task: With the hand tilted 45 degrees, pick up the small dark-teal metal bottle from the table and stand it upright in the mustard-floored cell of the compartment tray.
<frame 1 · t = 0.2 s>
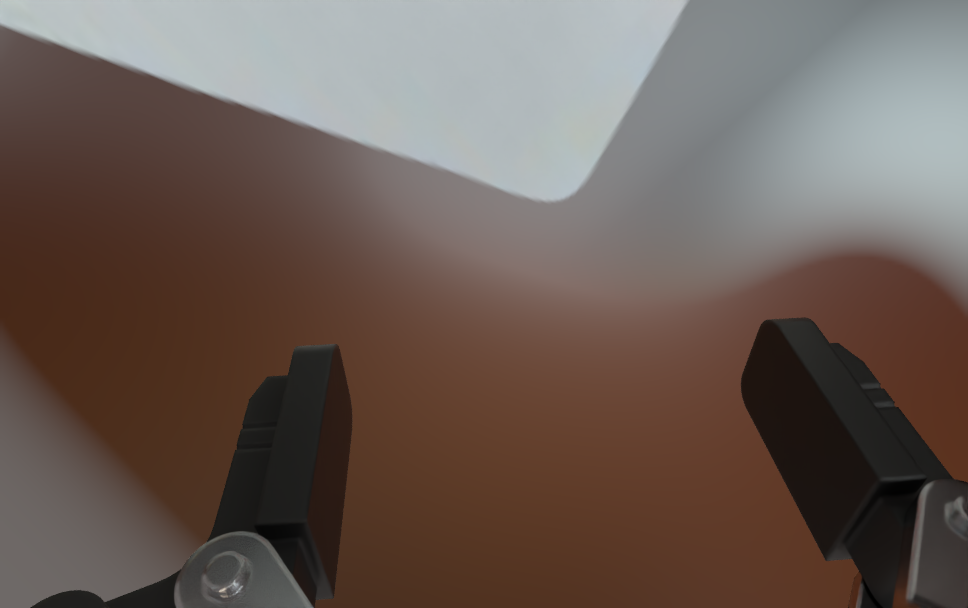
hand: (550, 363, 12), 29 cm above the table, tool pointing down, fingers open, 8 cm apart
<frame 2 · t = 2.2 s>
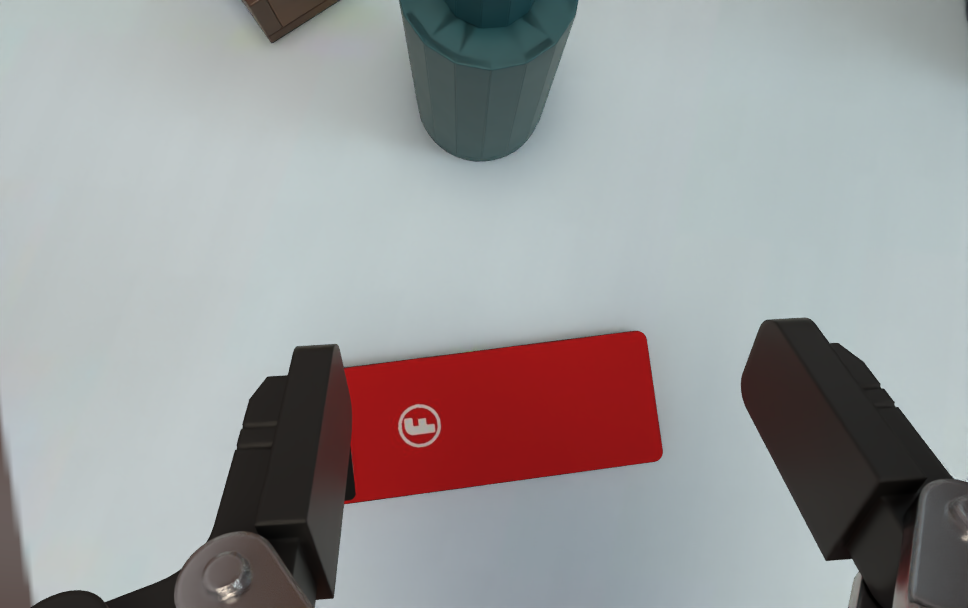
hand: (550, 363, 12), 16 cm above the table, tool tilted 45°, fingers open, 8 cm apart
electronic device: (486, 415, 28), on the table
bottle: (479, 101, 29), on the table
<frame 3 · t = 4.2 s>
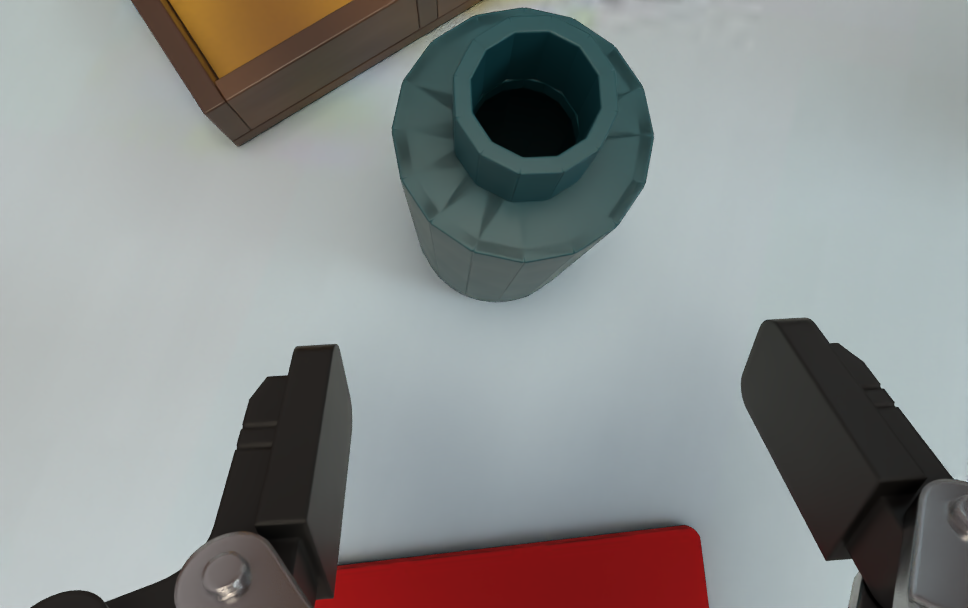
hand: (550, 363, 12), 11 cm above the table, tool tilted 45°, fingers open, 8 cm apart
bottle: (495, 225, 23), on the table
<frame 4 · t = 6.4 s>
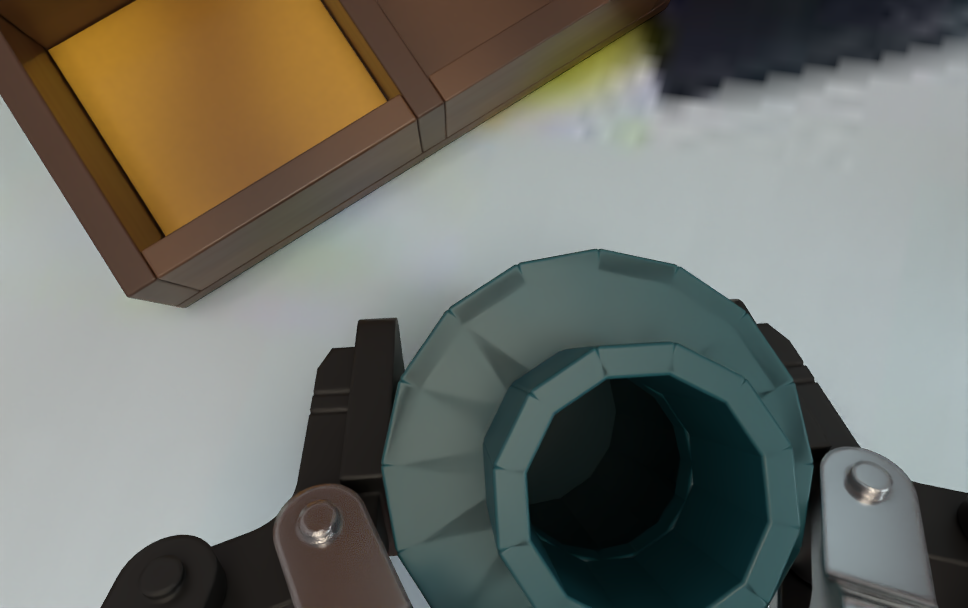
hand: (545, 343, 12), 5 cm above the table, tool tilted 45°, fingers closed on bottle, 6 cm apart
bottle: (522, 409, 18), on the table, touching gripper
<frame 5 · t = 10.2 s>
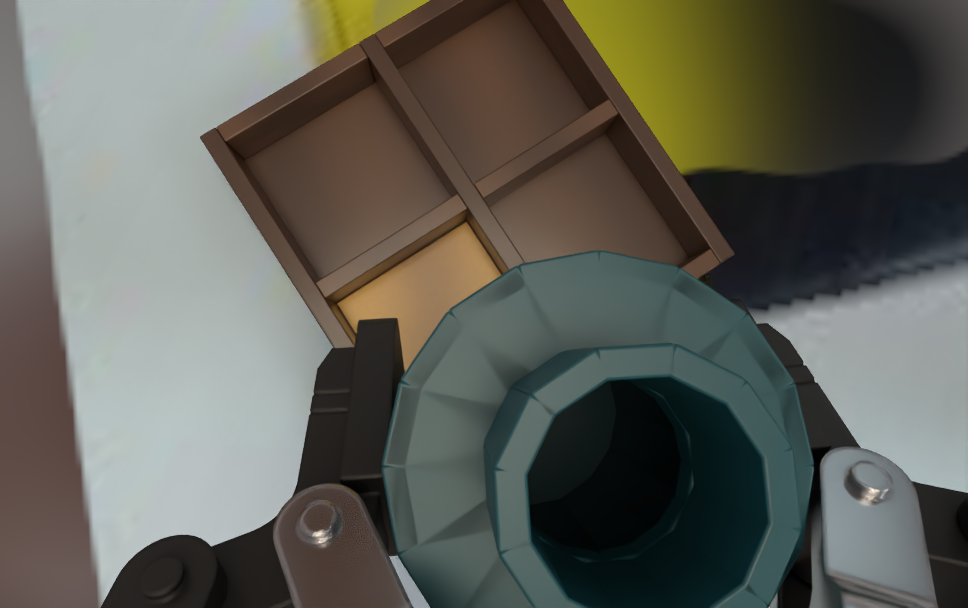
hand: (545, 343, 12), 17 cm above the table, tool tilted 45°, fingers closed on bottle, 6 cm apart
bottle: (522, 409, 18), point 12 cm above the table, touching gripper
compartment tray: (468, 212, 30), on the table
when the fingers open (6 cm above the table, at t = 14.2 s): bottle stays where it is, resting on compartment tray.
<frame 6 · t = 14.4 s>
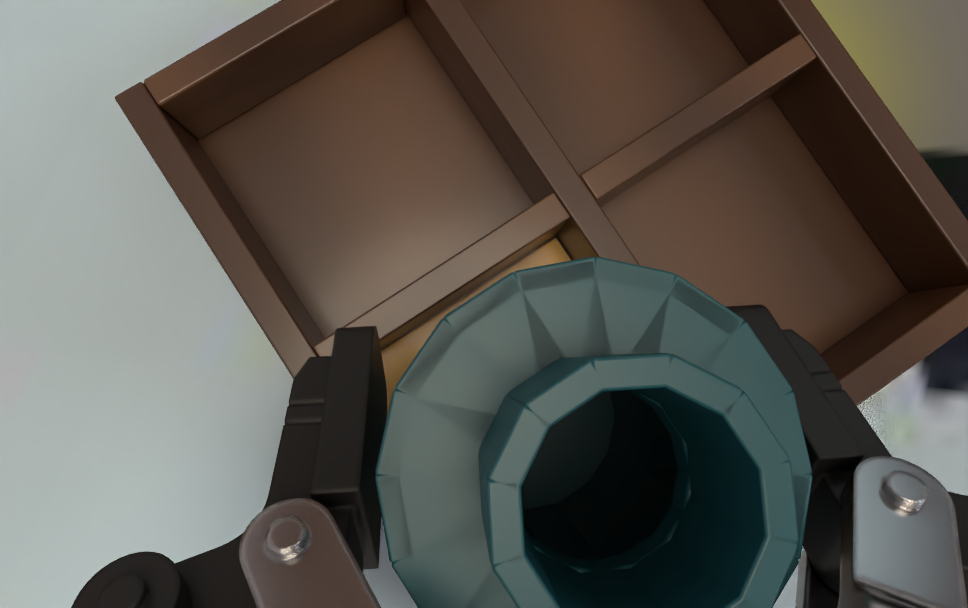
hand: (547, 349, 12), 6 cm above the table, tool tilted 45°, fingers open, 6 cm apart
bottle: (520, 413, 18), point 1 cm above the table, touching compartment tray
compartment tray: (555, 222, 19), on the table
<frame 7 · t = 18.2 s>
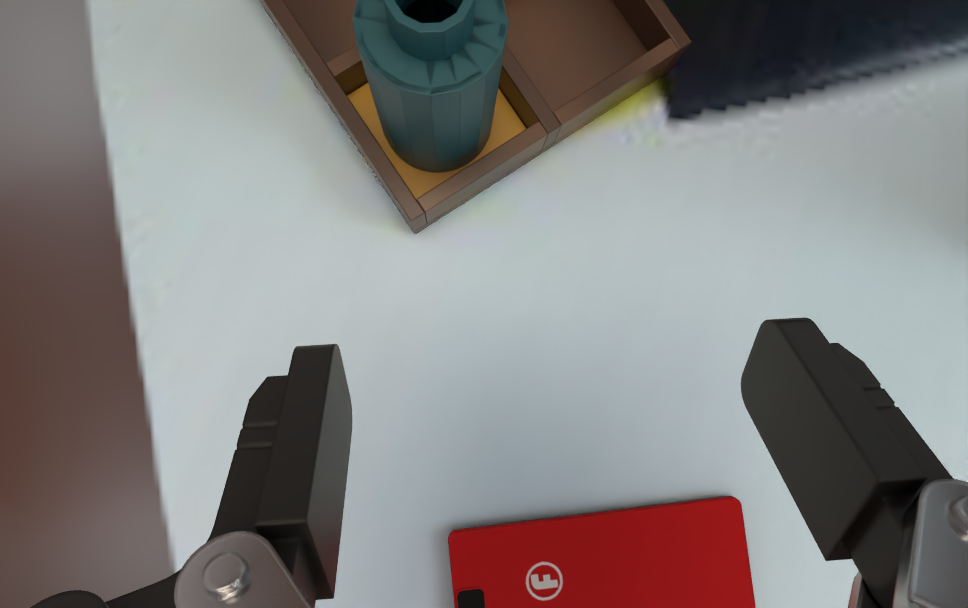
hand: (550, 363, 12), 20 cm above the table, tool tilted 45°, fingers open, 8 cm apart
electronic device: (599, 569, 32), on the table
bottle: (437, 119, 32), point 1 cm above the table, touching compartment tray
compartment tray: (459, 24, 34), on the table
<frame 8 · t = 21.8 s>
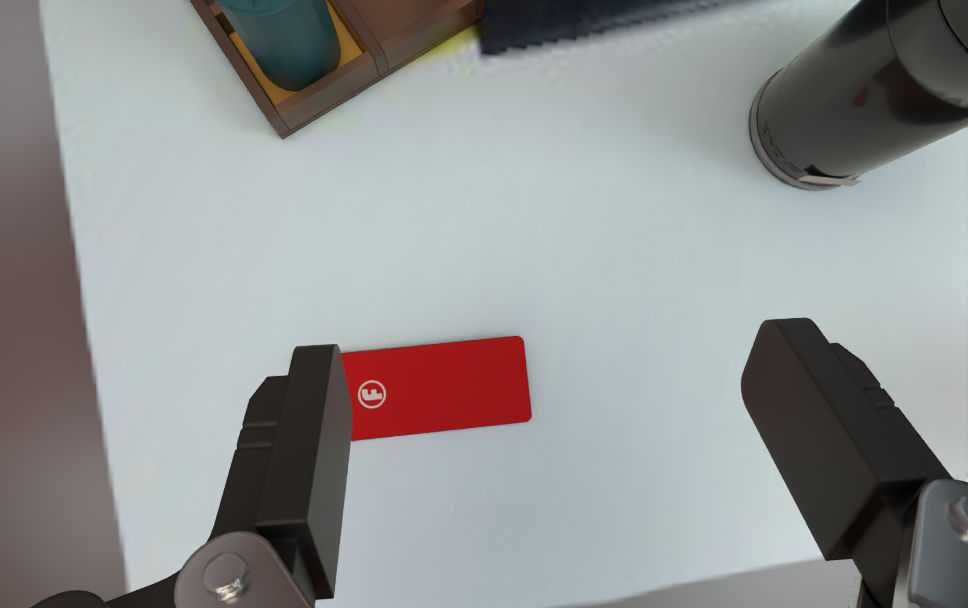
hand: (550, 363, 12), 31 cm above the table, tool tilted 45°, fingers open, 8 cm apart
electronic device: (417, 389, 42), on the table
bottle: (299, 52, 43), point 1 cm above the table, touching compartment tray
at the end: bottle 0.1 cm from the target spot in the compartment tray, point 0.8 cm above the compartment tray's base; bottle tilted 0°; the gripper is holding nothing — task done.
